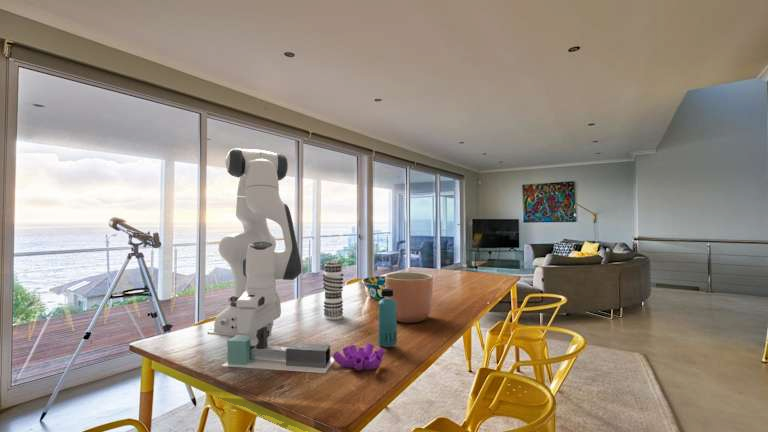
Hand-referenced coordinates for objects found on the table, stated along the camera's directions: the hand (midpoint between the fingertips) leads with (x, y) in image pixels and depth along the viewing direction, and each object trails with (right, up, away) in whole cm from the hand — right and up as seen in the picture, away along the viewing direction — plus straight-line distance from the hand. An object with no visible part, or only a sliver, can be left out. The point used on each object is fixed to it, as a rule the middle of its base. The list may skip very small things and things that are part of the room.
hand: (261, 340), depth 110 cm
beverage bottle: (+39, -7, +13) cm, 42 cm away
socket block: (-6, -6, +1) cm, 8 cm away
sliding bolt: (+4, -5, -1) cm, 6 cm away
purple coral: (+31, -7, -4) cm, 32 cm away
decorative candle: (+15, -7, +51) cm, 54 cm away
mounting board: (+6, -7, -1) cm, 9 cm away
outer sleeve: (+15, -6, -2) cm, 16 cm away
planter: (+49, -7, +47) cm, 68 cm away
